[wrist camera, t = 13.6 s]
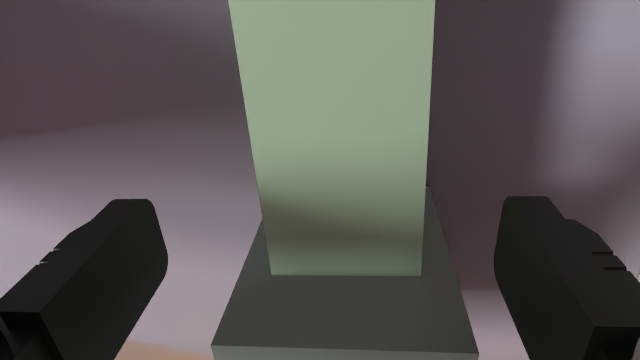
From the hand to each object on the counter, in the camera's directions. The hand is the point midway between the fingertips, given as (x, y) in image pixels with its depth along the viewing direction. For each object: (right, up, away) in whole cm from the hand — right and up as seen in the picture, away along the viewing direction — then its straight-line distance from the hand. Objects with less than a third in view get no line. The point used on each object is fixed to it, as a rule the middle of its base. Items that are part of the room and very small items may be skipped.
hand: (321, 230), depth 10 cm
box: (+1, +3, +5) cm, 6 cm away
